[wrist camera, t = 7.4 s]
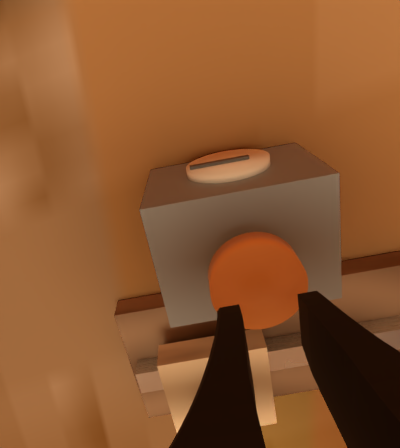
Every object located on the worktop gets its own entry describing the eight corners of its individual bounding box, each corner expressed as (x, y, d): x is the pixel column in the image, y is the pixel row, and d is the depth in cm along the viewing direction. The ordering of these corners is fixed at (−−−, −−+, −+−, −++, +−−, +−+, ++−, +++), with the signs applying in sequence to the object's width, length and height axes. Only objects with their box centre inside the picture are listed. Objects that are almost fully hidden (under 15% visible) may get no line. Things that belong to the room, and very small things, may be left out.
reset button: (292, 284, 16) (310, 320, 14) (213, 298, 16) (218, 336, 14) (286, 210, 15) (305, 237, 13) (199, 226, 15) (202, 256, 13)
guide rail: (462, 323, 24) (475, 336, 22) (143, 378, 24) (141, 393, 23) (465, 303, 23) (479, 315, 22) (137, 360, 23) (135, 374, 22)
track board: (448, 349, 26) (463, 365, 25) (150, 399, 27) (148, 417, 26) (463, 239, 23) (481, 251, 21) (118, 300, 23) (114, 315, 22)
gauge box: (302, 240, 22) (342, 297, 17) (173, 263, 22) (170, 327, 17) (294, 132, 20) (338, 159, 14) (148, 159, 20) (136, 196, 14)
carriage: (266, 385, 24) (302, 517, 17) (179, 400, 25) (178, 537, 18) (257, 314, 22) (293, 434, 15) (159, 331, 22) (149, 458, 15)
